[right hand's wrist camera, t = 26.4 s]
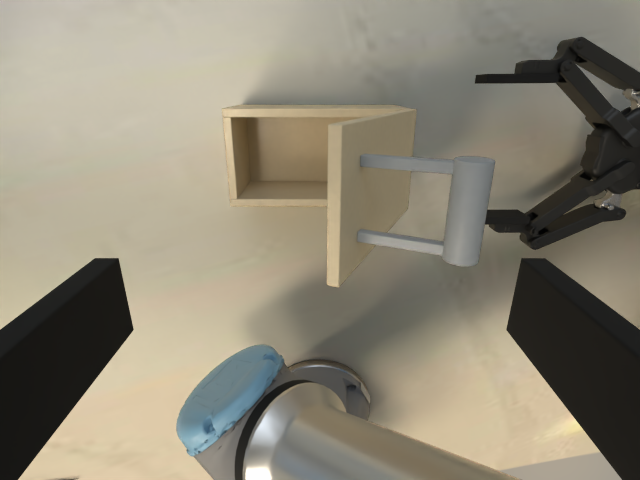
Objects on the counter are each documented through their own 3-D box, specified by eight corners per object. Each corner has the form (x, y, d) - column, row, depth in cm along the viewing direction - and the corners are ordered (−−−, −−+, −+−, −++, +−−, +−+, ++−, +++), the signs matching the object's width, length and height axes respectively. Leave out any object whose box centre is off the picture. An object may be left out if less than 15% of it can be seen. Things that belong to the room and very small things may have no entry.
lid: (326, 285, 23) (468, 317, 20) (327, 124, 20) (499, 131, 17) (399, 207, 38) (487, 218, 35) (407, 108, 35) (505, 110, 32)
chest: (246, 186, 47) (230, 206, 39) (240, 104, 43) (221, 108, 35) (388, 186, 47) (402, 206, 39) (394, 104, 43) (411, 108, 35)
